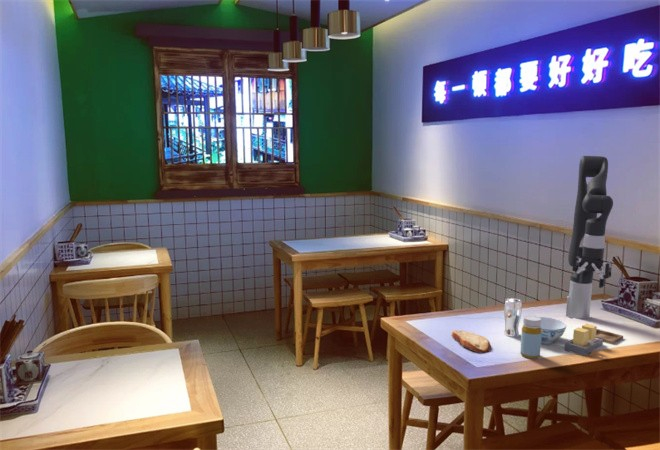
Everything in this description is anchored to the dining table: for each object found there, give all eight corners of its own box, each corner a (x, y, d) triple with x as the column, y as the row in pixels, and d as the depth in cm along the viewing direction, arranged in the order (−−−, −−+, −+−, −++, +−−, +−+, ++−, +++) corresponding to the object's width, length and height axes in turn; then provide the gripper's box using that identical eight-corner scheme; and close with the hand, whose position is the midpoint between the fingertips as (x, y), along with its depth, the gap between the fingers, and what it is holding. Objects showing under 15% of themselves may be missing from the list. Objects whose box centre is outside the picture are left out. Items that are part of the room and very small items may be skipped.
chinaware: (547, 350, 211) (548, 331, 210) (517, 338, 224) (518, 320, 223) (573, 343, 218) (574, 325, 216) (543, 332, 231) (544, 314, 230)
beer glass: (520, 332, 230) (522, 299, 227) (519, 338, 223) (521, 303, 221) (503, 330, 233) (505, 297, 230) (501, 335, 226) (503, 301, 224)
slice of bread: (453, 333, 230) (453, 324, 230) (496, 340, 222) (496, 331, 221) (441, 347, 215) (441, 338, 214) (487, 355, 206) (487, 346, 206)
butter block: (572, 349, 211) (573, 329, 209) (577, 346, 213) (578, 327, 212) (582, 352, 208) (584, 332, 206) (587, 349, 210) (588, 330, 209)
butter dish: (564, 350, 211) (566, 329, 210) (582, 340, 221) (583, 321, 219) (585, 356, 205) (586, 335, 204) (602, 346, 215) (604, 326, 213)
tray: (585, 338, 223) (585, 334, 223) (595, 333, 230) (596, 328, 229) (612, 346, 215) (613, 341, 215) (623, 340, 221) (623, 335, 221)
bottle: (517, 352, 209) (519, 315, 206) (534, 351, 209) (536, 314, 207) (525, 359, 202) (527, 321, 200) (543, 358, 202) (545, 320, 200)
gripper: (571, 243, 214) (568, 282, 218) (608, 250, 204) (604, 291, 207) (580, 241, 219) (577, 279, 222) (616, 247, 208) (612, 287, 211)
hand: (590, 284), depth 214 cm, fingers open, 8 cm apart
